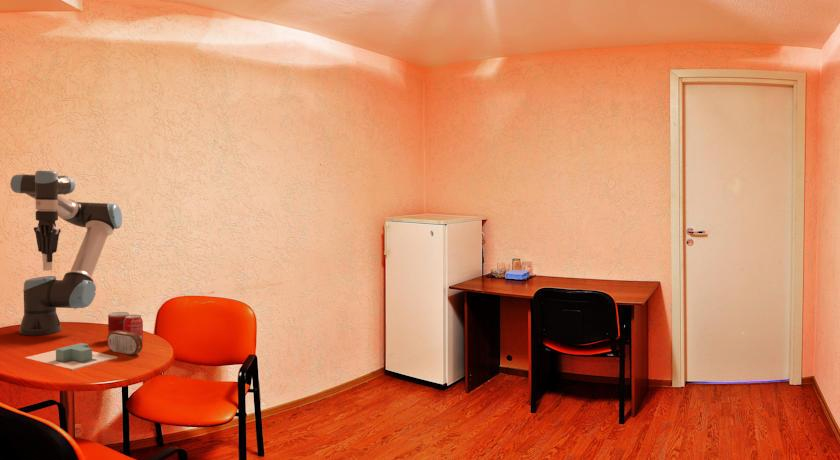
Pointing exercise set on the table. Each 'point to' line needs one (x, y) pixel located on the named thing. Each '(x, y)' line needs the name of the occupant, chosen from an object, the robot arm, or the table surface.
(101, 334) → the table surface
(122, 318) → the canned food
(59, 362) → the mat
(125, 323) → the soda can
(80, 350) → the t block
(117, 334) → the tin
